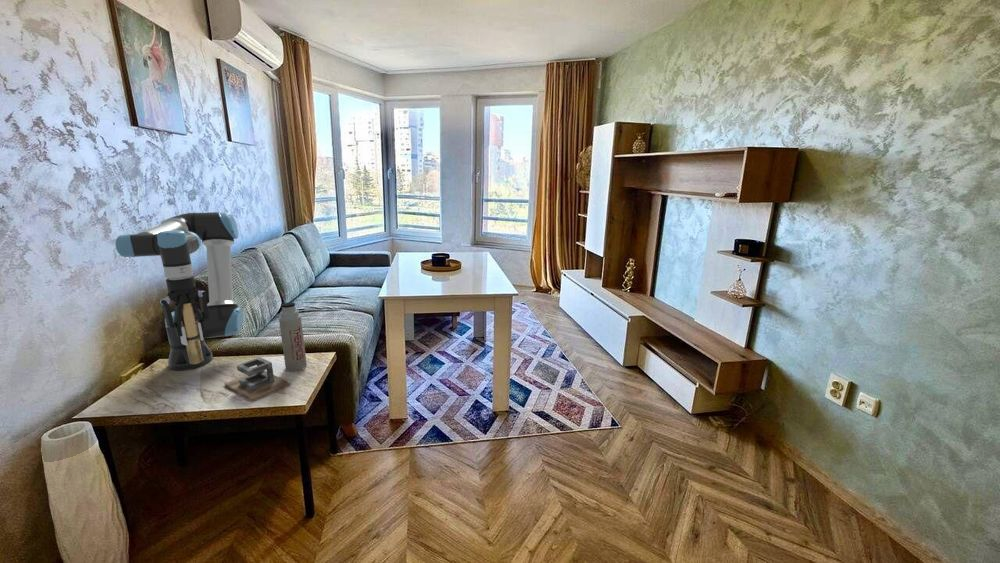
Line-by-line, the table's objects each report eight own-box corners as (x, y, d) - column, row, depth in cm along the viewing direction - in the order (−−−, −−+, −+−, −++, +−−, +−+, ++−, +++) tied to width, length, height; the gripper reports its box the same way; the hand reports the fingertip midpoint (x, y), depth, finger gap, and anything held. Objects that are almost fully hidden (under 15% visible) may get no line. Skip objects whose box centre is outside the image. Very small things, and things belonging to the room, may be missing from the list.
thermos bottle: (309, 367, 170) (301, 304, 163) (288, 373, 165) (279, 308, 158) (303, 361, 176) (296, 299, 169) (283, 366, 171) (274, 303, 164)
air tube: (187, 362, 143) (175, 303, 138) (200, 358, 147) (189, 300, 141) (192, 365, 141) (180, 305, 135) (206, 360, 145) (194, 302, 139)
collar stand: (224, 385, 155) (220, 364, 153) (261, 371, 167) (258, 351, 164) (252, 401, 145) (248, 378, 142) (290, 384, 156) (287, 363, 154)
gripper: (152, 284, 127) (167, 353, 133) (213, 273, 141) (224, 336, 147) (143, 280, 131) (158, 347, 137) (203, 270, 145) (214, 331, 151)
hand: (192, 341), depth 142 cm, fingers closed on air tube, 4 cm apart
